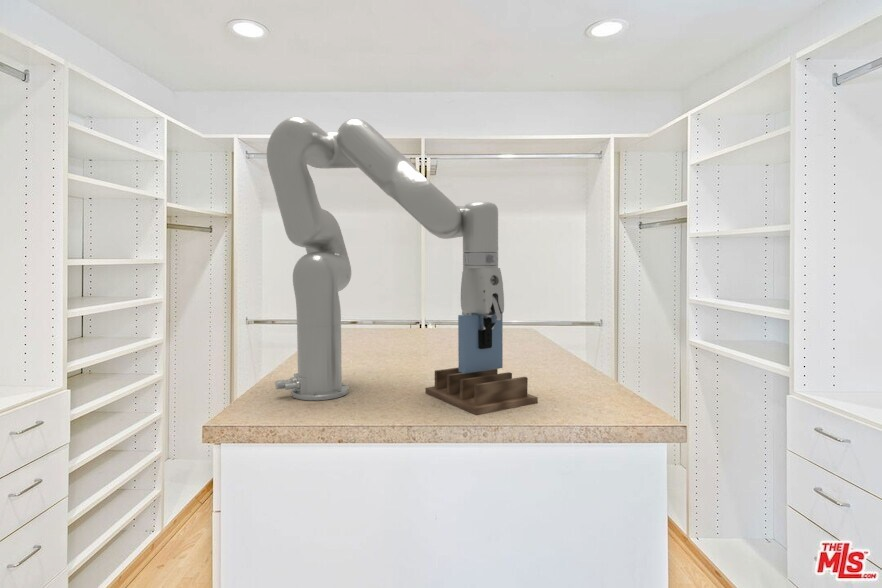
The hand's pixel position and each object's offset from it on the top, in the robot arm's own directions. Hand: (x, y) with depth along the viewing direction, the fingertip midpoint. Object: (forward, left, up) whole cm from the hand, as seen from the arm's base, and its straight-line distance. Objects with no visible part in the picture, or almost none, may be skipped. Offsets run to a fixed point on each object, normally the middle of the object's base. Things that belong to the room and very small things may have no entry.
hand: (480, 346), depth 106 cm
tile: (0, 0, -5) cm, 5 cm away
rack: (0, 0, -11) cm, 11 cm away
